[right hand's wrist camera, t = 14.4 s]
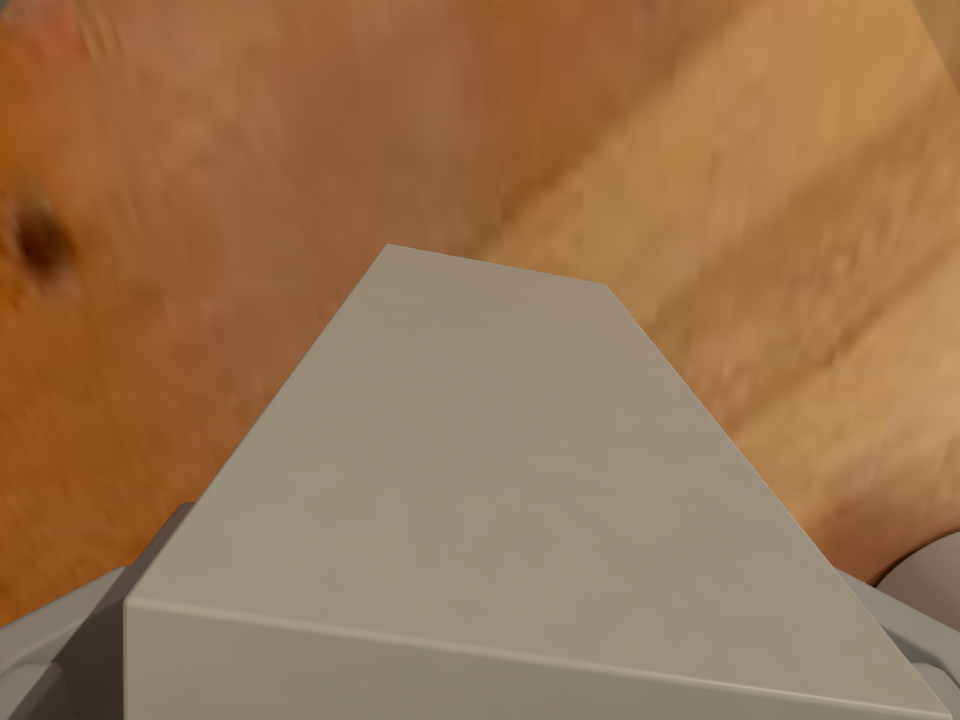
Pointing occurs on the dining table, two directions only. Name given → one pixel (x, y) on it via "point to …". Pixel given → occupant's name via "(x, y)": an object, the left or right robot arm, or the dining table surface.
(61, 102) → the dining table surface
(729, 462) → the box
